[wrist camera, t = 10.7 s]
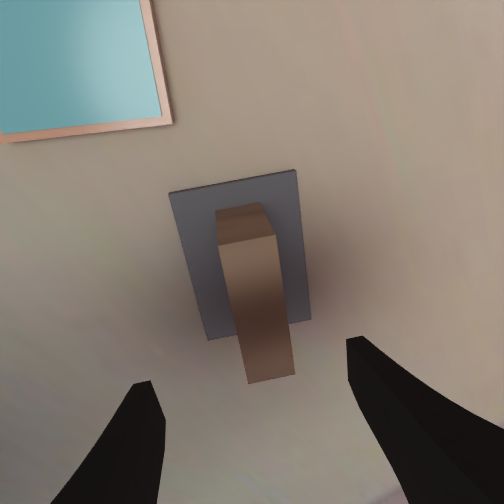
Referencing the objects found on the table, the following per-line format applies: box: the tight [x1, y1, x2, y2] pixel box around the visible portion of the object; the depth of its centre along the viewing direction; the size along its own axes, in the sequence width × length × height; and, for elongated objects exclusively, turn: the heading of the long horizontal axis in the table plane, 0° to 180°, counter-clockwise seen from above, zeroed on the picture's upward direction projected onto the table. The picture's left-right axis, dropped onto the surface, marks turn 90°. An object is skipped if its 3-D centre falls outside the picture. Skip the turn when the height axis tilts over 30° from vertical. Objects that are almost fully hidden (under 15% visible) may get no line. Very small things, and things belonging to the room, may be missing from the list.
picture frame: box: [0, 0, 174, 144], centre depth 15 cm, size 2×8×8 cm
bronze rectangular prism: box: [215, 202, 295, 384], centre depth 18 cm, size 8×2×5 cm, turn 9°
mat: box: [168, 169, 311, 340], centre depth 21 cm, size 10×7×1 cm
